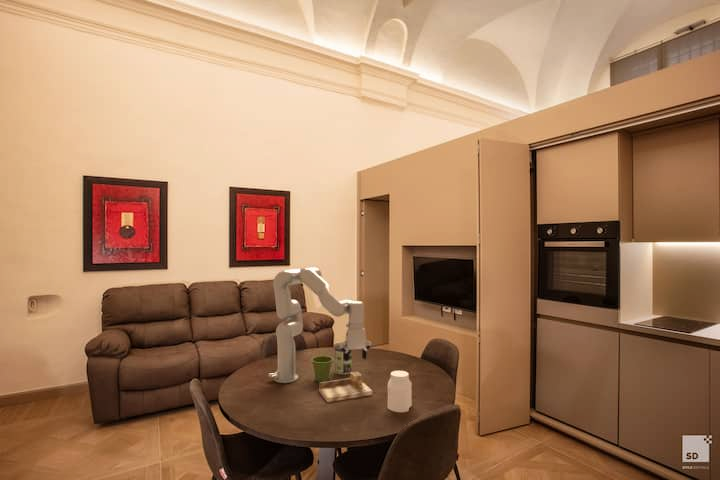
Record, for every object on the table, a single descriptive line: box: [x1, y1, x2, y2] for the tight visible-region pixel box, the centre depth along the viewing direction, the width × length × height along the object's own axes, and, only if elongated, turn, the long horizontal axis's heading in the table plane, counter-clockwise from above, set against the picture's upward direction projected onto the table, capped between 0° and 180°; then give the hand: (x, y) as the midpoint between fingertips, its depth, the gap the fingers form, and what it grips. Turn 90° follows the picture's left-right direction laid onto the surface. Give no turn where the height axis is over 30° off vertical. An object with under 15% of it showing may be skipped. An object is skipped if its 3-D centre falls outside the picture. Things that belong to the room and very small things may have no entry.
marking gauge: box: [349, 371, 363, 390], centre depth 185 cm, size 4×11×6 cm, turn 22°
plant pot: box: [311, 355, 334, 382], centre depth 201 cm, size 12×12×11 cm
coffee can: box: [334, 345, 353, 375], centre depth 214 cm, size 10×10×14 cm
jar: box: [387, 370, 413, 413], centre depth 167 cm, size 12×10×15 cm
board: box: [318, 376, 373, 403], centre depth 183 cm, size 23×14×4 cm, turn 112°
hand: (355, 359), depth 188 cm, fingers open, 9 cm apart
